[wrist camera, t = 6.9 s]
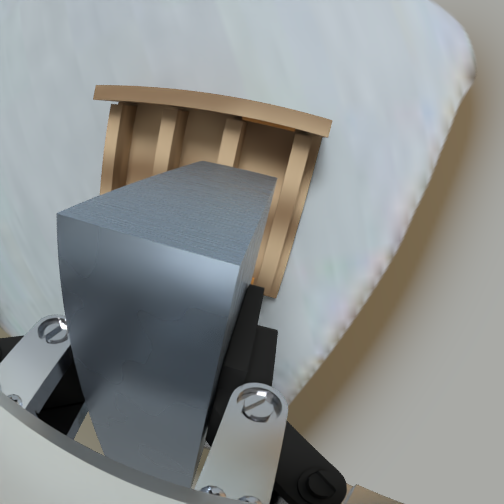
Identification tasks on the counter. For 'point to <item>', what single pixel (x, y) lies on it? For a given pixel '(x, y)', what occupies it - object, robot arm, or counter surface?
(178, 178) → the block
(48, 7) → the counter surface
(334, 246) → the counter surface
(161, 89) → the rack
